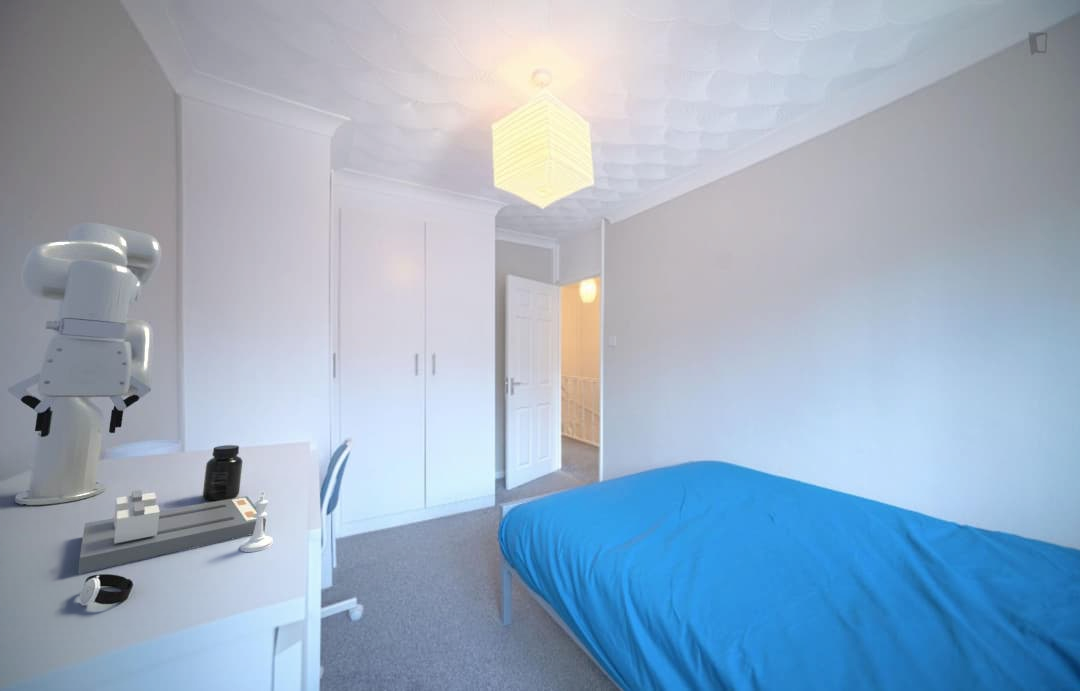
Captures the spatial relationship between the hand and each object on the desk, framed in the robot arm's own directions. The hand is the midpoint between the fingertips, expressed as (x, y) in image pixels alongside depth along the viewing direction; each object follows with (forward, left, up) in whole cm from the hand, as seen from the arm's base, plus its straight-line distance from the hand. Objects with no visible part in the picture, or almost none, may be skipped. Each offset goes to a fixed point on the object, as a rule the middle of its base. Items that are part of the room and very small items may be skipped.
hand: (79, 432), depth 66 cm
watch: (+22, +5, -20) cm, 30 cm away
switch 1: (0, +8, -17) cm, 19 cm away
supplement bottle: (-14, +23, -20) cm, 33 cm away
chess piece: (+17, +24, -20) cm, 35 cm away
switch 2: (+8, +8, -17) cm, 20 cm away
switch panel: (+4, +14, -20) cm, 25 cm away
